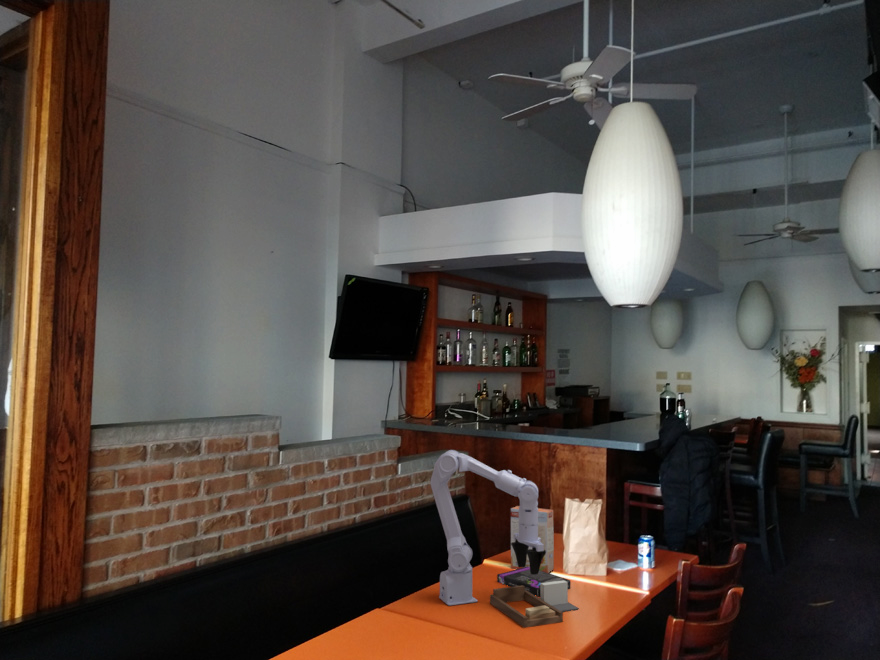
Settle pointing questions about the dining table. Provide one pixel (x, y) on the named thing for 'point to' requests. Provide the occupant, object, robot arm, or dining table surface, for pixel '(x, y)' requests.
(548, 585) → the light grey block
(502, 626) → the dining table surface
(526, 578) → the box
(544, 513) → the cracker box
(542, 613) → the offcuts
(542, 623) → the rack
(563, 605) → the mat
